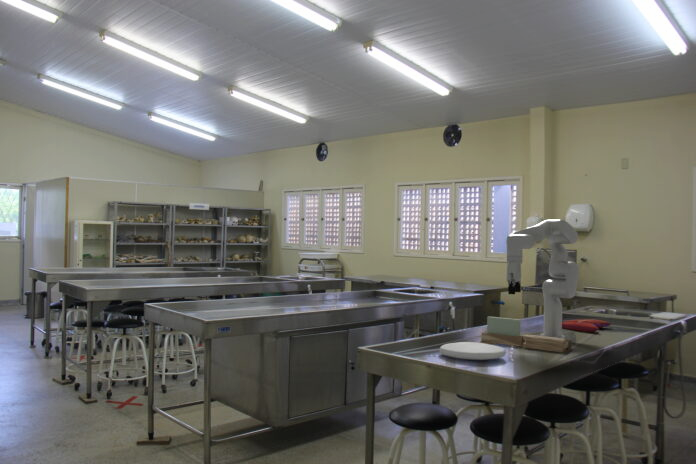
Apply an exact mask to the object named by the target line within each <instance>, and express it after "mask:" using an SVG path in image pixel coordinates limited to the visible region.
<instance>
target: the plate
mask: <svg viewBox="0 0 696 464" xmlns="http://www.w3.org/2000/svg"><path fill="white" fill-rule="evenodd" d="M506 353H507V351H506V349H505V348H503V347H502V346H499V345H495V344H493V345H490V344H485V343H480V342H477V341H476V342H474V341H473V342H472V341H459V342H458V341H457V342H451V343H445V344H443V345H441V346H440V347H439V354H441V355H442V356H446V357H450V358H456V359H462V360H470V361H471V360H472V361H484V360H485V361H486V360H487V361H488V360H495V359H496V360H497V359H500V358H503V357H505V356H506Z"/></svg>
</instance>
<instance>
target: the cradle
mask: <svg viewBox="0 0 696 464" xmlns="http://www.w3.org/2000/svg"><path fill="white" fill-rule="evenodd" d="M523 336H524V335H523V334H522V335H521V334H520V337H518V336H510V335H501V334H492V333H487V330H486V331H483V332H481V339H480V341H479V343H485V344H490V345H495V344H498V345H499V344H500V345H506V346H507V345H508V346H515V347H523V343H525V341H526V340H523Z"/></svg>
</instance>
